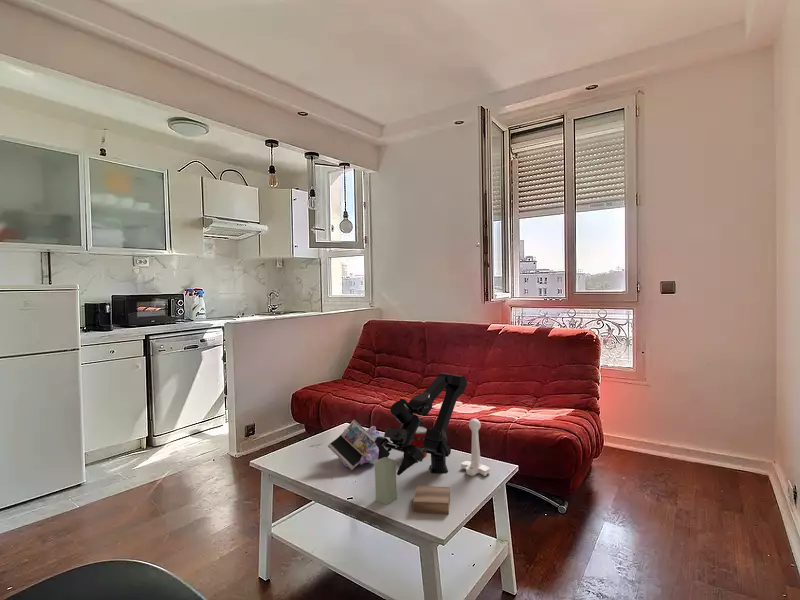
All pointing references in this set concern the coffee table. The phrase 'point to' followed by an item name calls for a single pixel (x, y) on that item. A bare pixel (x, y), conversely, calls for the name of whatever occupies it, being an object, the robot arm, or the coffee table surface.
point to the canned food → (420, 439)
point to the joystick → (475, 453)
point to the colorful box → (356, 445)
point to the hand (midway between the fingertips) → (387, 471)
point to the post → (385, 480)
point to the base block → (431, 500)
